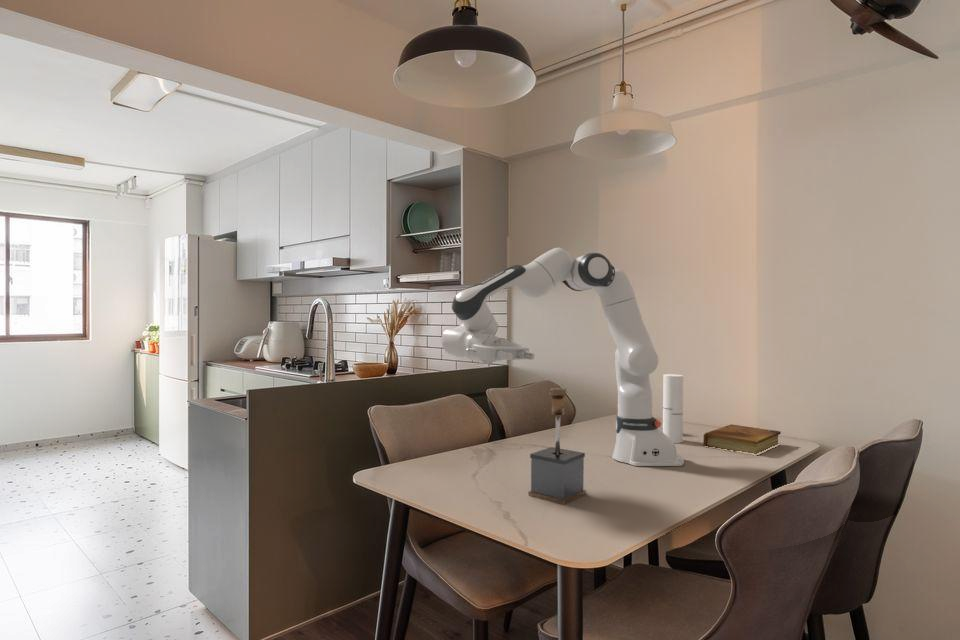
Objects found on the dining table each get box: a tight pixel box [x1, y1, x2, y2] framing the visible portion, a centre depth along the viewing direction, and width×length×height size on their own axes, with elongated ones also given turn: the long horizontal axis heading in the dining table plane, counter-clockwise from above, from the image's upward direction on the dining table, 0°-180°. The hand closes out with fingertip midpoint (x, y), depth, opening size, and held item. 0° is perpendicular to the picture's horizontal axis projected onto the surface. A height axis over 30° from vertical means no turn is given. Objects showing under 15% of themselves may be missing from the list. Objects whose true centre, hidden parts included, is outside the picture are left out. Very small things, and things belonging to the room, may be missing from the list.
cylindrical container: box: [662, 373, 684, 444], centre depth 215 cm, size 7×7×25 cm
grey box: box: [528, 446, 587, 505], centre depth 151 cm, size 11×11×11 cm
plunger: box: [549, 387, 568, 455], centre depth 151 cm, size 8×8×19 cm
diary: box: [703, 424, 782, 454], centre depth 208 cm, size 23×19×6 cm
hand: (523, 356), depth 160 cm, fingers open, 8 cm apart
